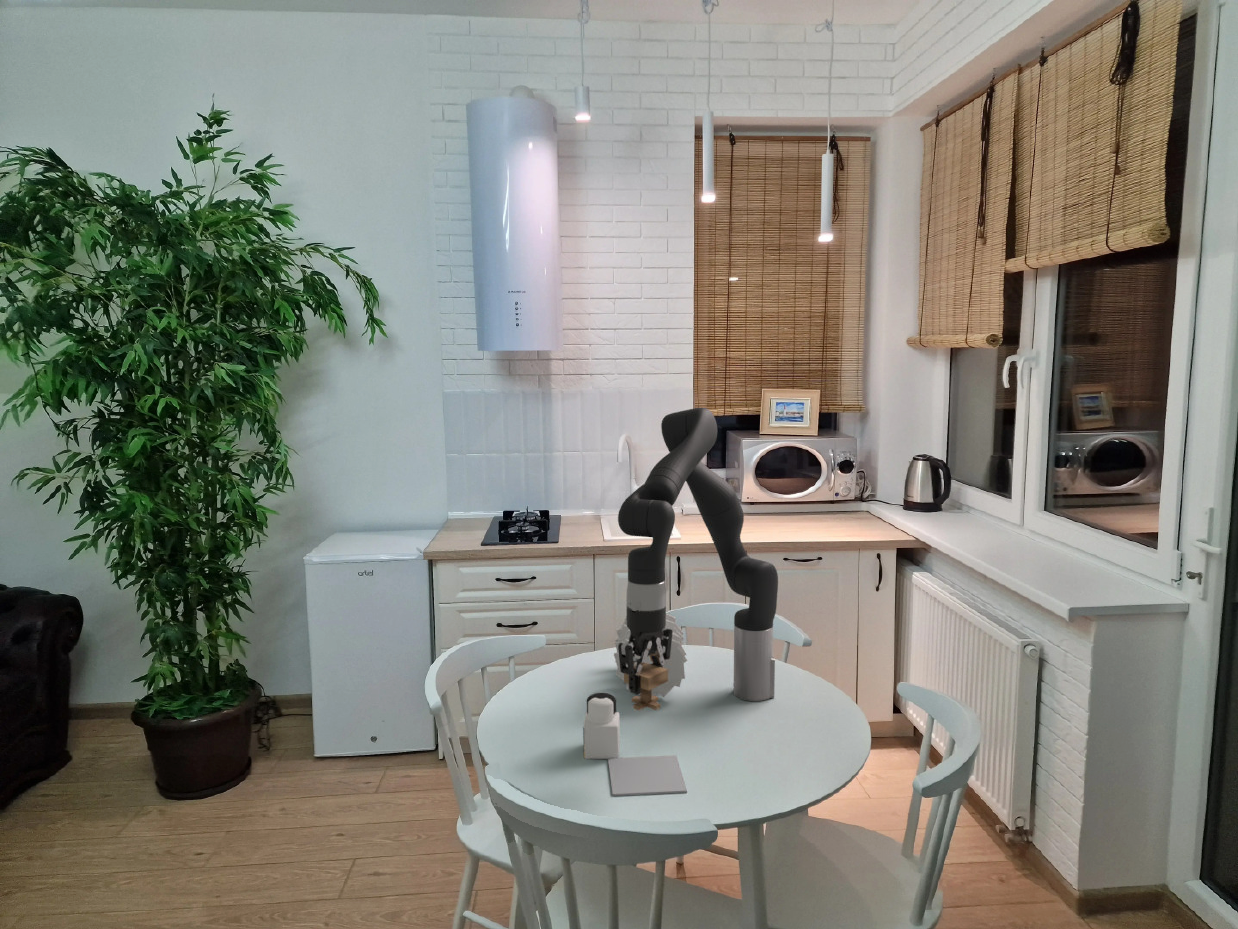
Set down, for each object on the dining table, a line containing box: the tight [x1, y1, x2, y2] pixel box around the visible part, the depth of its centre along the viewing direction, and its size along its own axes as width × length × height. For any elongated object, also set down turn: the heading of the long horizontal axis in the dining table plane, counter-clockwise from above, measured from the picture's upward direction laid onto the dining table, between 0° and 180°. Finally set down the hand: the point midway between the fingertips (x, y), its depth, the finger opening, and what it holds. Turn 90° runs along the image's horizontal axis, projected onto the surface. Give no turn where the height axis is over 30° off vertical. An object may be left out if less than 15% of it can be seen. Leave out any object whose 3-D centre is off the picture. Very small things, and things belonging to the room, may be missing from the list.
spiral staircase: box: [613, 613, 688, 698], centre depth 208 cm, size 18×18×25 cm
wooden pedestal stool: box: [623, 663, 668, 712], centre depth 161 cm, size 6×6×7 cm
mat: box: [607, 754, 688, 797], centre depth 163 cm, size 14×14×1 cm
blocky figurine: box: [582, 692, 621, 760], centre depth 173 cm, size 7×7×12 cm
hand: (645, 687), depth 161 cm, fingers closed on wooden pedestal stool, 6 cm apart
